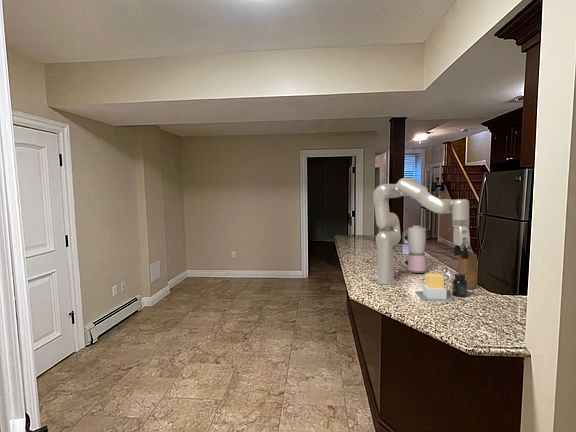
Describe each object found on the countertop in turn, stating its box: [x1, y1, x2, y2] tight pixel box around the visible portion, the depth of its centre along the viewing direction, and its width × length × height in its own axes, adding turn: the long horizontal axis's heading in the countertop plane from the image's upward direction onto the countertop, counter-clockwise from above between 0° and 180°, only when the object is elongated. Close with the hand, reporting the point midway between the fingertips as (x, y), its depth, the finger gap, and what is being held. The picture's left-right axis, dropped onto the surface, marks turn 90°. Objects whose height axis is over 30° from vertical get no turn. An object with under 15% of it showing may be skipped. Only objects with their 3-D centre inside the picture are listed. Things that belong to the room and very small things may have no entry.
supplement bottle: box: [451, 273, 468, 299], centre depth 170 cm, size 7×7×12 cm
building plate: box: [414, 290, 457, 302], centre depth 170 cm, size 16×16×2 cm
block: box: [457, 251, 478, 290], centre depth 188 cm, size 11×8×20 cm
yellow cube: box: [424, 272, 445, 289], centre depth 169 cm, size 7×7×6 cm
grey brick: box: [422, 283, 448, 299], centre depth 170 cm, size 9×9×5 cm
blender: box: [401, 225, 427, 275], centre depth 225 cm, size 16×12×32 cm
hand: (460, 256), depth 168 cm, fingers open, 9 cm apart
